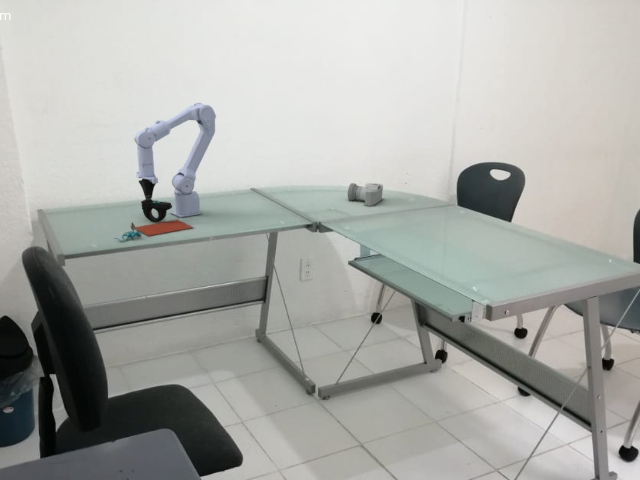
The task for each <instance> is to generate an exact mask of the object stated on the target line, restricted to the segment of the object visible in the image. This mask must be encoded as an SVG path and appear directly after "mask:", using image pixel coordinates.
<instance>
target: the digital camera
mask: <svg viewBox="0 0 640 480" xmlns="http://www.w3.org/2000/svg"><path fill="white" fill-rule="evenodd" d="M383 189H384V185H383V184H382V183H373V182H372V183H371V182H367V183H366V184H364V186H361V185H357V184H356V183H354V182H351V183H350V184H349V186H348V189H347V200H349V201H355V200H362V201H364V206H366V207H372V206H375V205H376V204H378V203H379V202H381V201H382V199H383V191H384V190H383Z"/></svg>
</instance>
